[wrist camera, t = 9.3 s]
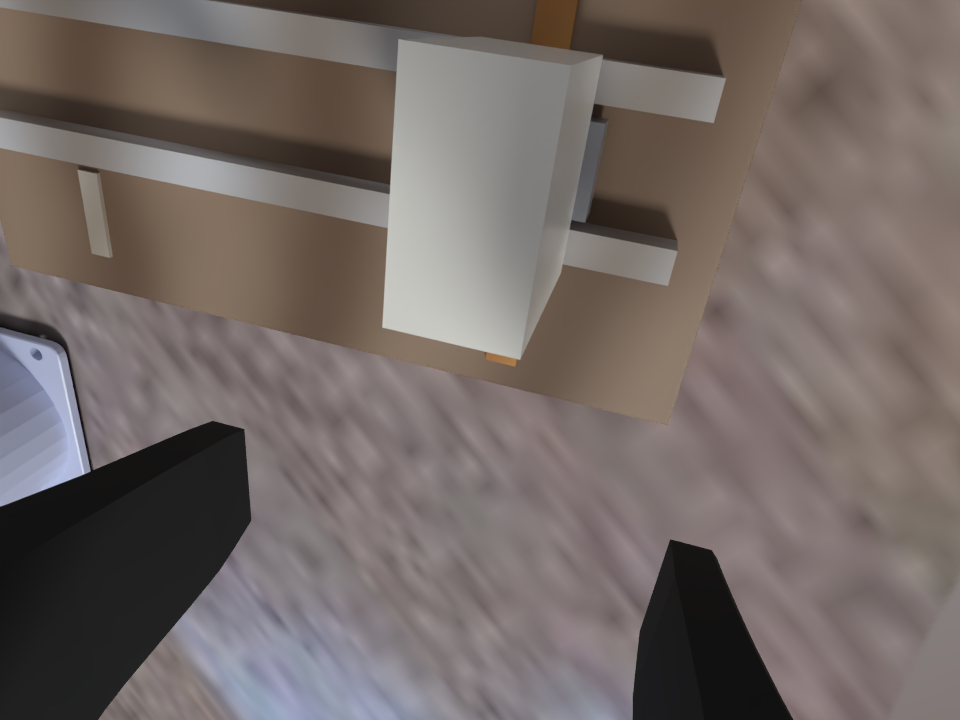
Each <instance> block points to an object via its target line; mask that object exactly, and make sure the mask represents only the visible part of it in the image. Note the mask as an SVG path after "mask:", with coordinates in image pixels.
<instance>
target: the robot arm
mask: <svg viewBox="0 0 960 720" xmlns="http://www.w3.org/2000/svg"><path fill="white" fill-rule="evenodd" d="M250 522H251V511H250V498H249V485H248V472H247V459H246V446H245V433H244V429H242V428H238V427H234V426H230V425H226V424H222V423H218V422H214V421H211V422H209V423H206V424H203V425H200V426H198V427H195V428H192V429H190V430H187V431H185V432H183V433H180V434H178V435H175V436H173V437H171V438H168V439H166V440H163V441H161V442H159V443H156V444H154V445H152V446H149V447H147V448H145V449H142V450H140V451H138V452H136V453H133V454H131V455H128V456H126V457H124V458H121V459H119V460H117V461H114V462H112V463H109V464H107V465H105V466H102V467H100V468H98V469H95V470H93V471H91V470H90V465H89V461H88V456H87V451H86V446H85V441H84V436H83V432H82V427H81V422H80V417H79V412H78V408H77V403H76V398H75V393H74V388H73V383H72V379H71V374H70V369H69V364H68V359H67V355H66V352H65V350H64V349H63V347H62V346H60V345H59V344H58V343H56V342H53V341H50V340H46V339H43V338H39V337H35V336H31V335H27V334H24V333H20V332H16V331H12V330H8V329H5V328H1V327H0V720H98V719H99V718H100V716H101V715H102V713H103V712H104V710H105V709H106V708H107V706H108V705H109V704H110V703H111V701H112V700H113V699H114V697H115V696H116V695H117V694H118V692H119V691H120V690H121V688H122V687H123V686H124V685H125V683H126V682H127V681H128V680H129V679H130V677H131V676H132V675H133V674H134V673H135V671H136V670H137V669H138V668H139V667H140V665H141V664H142V663H143V662H144V661H145V659H146V658H147V657H148V656H149V655H150V654H151V652H152V651H153V650H154V649H155V648H156V646H157V645H158V644H159V643H160V642H161V640H162V639H163V638H164V637H165V636H166V635H167V633H168V632H169V631H170V630H171V629H172V627H173V626H174V625H175V624H176V623H177V621H178V620H179V619H180V618H181V617H182V615H183V614H184V613H185V612H186V611H187V610H188V608H189V607H190V606H191V605H192V603H193V602H194V601H195V600H196V599H197V597H198V596H199V595H200V594H201V593H202V591H203V590H204V589H205V588H206V586H207V585H208V584H209V583H210V582H211V580H212V579H213V578H214V577H215V575H216V574H217V573H218V572H219V570H220V569H221V567H222V566H223V564H224V563H225V561H226V560H227V558H228V557H229V555H230V554H231V552H232V551H233V549H234V548H235V546H236V544H237V543H238V541H239V539H240V538H241V536H242V535H243V533H244V531H245V530H246V528H247V526H248V525H249V523H250ZM633 720H793V718H792V716H791V715H790V713H789V711H788V709H787V707H786V705H785V703H784V702H783V700H782V698H781V696H780V694H779V692H778V690H777V688H776V686H775V684H774V682H773V680H772V678H771V676H770V674H769V673H768V671H767V669H766V667H765V665H764V663H763V661H762V659H761V657H760V655H759V653H758V651H757V649H756V647H755V645H754V642H753V640H752V638H751V636H750V634H749V632H748V630H747V628H746V625H745V623H744V621H743V619H742V617H741V614H740V612H739V610H738V608H737V606H736V603H735V601H734V599H733V596H732V594H731V592H730V589H729V587H728V585H727V582H726V580H725V577H724V575H723V573H722V570H721V568H720V565H719V563H718V560H717V558H716V556H715V555H714V553H713V552H712V550H709V549H705V548H701V547H697V546H694V545H690V544H686V543H682V542H678V541H674V540H670V542H669V545H668V548H667V551H666V554H665V557H664V560H663V563H662V566H661V569H660V572H659V575H658V578H657V581H656V584H655V587H654V590H653V593H652V596H651V599H650V602H649V605H648V608H647V611H646V614H645V617H644V620H643V623H642V626H641V629H640V635H639V644H638V653H637V662H636V671H635V681H634V691H633Z"/></svg>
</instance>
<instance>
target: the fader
mask: <svg viewBox="0 0 960 720" xmlns="http://www.w3.org/2000/svg"><path fill="white" fill-rule="evenodd" d="M602 58H603V55H601V54H594V53H588V52H581V51H574V50H568V49H561V48H554V47H547V46H541V45H534V44H527V43H521V42H514V41H507V40H500V39H494V38H487V37H452V38H420V39H398V56H397V74H396V92H395V110H394V127H393V145H392V163H391V181H390V199H389V217H388V234H387V252H386V270H385V288H384V306H383V324H382V328H387V329H391V330H395V331H399V332H404V333H408V334H412V335H416V336H421V337H425V338H429V339H433V340H438V341H442V342H446V343H450V344H455V345H459V346H463V347H467V348H472V349H476V350H480V351H484V352H489V353H493V354H497V355H501V356H506V357H510V358H514V359H518V360H520V359H521V357H522V355H523V353H524V351H525V348H526V346H527V344H528V342H529V340H530V338H531V336H532V334H533V331H534V329H535V327H536V325H537V323H538V321H539V319H540V317H541V314H542V312H543V310H544V308H545V306H546V304H547V302H548V299H549V297H550V295H551V293H552V291H553V289H554V287H555V285H556V282H557V280H558V278H559V276H560V274H561V270H562V265H563V260H564V255H565V249H566V244H567V239H568V234H569V229H570V224H571V220H574V221H579V222H584V223H585V222H586V220H587V218H588V216H589V213H590V208H591V204H592V199H593V194H594V189H595V184H596V179H597V174H598V170H599V165H600V160H601V155H602V150H603V145H604V141H605V136H606V131H607V126H608V121H609V119H605V118H599V117H593V116H591V115H592V110H593V105H594V100H595V95H596V89H597V84H598V79H599V74H600V69H601V64H602Z"/></svg>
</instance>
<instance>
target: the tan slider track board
mask: <svg viewBox="0 0 960 720" xmlns="http://www.w3.org/2000/svg"><path fill="white" fill-rule="evenodd" d="M801 2H802V0H0V219H1V224H2V228H3V232H4V236H5V241H6V245H7V249H8V253H9V257H10V262H11V266H15V267H19V268H23V269H27V270H31V271H35V272H39V273H44V274H48V275H52V276H56V277H60V278H64V279H68V280H72V281H76V282H81V283H85V284H89V285H93V286H97V287H101V288H105V289H109V290H113V291H118V292H122V293H126V294H130V295H134V296H138V297H142V298H146V299H150V300H155V301H159V302H163V303H167V304H171V305H175V306H179V307H183V308H188V309H192V310H196V311H200V312H204V313H208V314H212V315H216V316H220V317H225V318H229V319H233V320H237V321H241V322H245V323H249V324H253V325H257V326H262V327H266V328H270V329H274V330H278V331H282V332H286V333H290V334H294V335H299V336H303V337H307V338H311V339H315V340H319V341H323V342H327V343H331V344H336V345H340V346H344V347H348V348H352V349H356V350H360V351H364V352H368V353H373V354H377V355H381V356H385V357H389V358H393V359H397V360H401V361H406V362H410V363H414V364H418V365H422V366H426V367H430V368H434V369H438V370H443V371H447V372H451V373H455V374H459V375H463V376H467V377H471V378H475V379H480V380H484V381H488V382H492V383H496V384H500V385H504V386H508V387H512V388H517V389H521V390H525V391H529V392H533V393H537V394H541V395H545V396H549V397H554V398H558V399H562V400H566V401H570V402H574V403H578V404H582V405H586V406H591V407H595V408H599V409H603V410H607V411H611V412H615V413H619V414H624V415H628V416H632V417H636V418H640V419H644V420H648V421H652V422H656V423H661V424H665V425H668V424H669V421H670V417H671V414H672V411H673V408H674V405H675V402H676V398H677V395H678V392H679V389H680V386H681V383H682V379H683V376H684V373H685V370H686V367H687V364H688V360H689V357H690V354H691V351H692V348H693V345H694V341H695V338H696V335H697V332H698V329H699V326H700V322H701V319H702V316H703V313H704V310H705V307H706V303H707V300H708V297H709V294H710V291H711V287H712V284H713V281H714V278H715V275H716V272H717V268H718V265H719V262H720V259H721V256H722V253H723V249H724V246H725V243H726V240H727V237H728V234H729V230H730V227H731V224H732V221H733V218H734V215H735V211H736V208H737V205H738V202H739V199H740V196H741V192H742V189H743V186H744V183H745V180H746V177H747V173H748V170H749V167H750V164H751V161H752V158H753V154H754V151H755V148H756V145H757V142H758V139H759V135H760V132H761V129H762V126H763V123H764V119H765V116H766V113H767V110H768V107H769V104H770V100H771V97H772V94H773V91H774V88H775V85H776V81H777V78H778V75H779V72H780V69H781V66H782V62H783V59H784V56H785V53H786V50H787V47H788V43H789V40H790V37H791V34H792V31H793V28H794V24H795V21H796V18H797V15H798V12H799V9H800V5H801ZM452 37H487V38H494V39H500V40H507V41H514V42H521V43H527V44H534V45H541V46H547V47H554V48H561V49H568V50H574V51H581V52H588V53H594V54H601V55H603V58H602V64H601V69H600V74H599V79H598V84H597V89H596V95H595V100H594V105H593V110H592V115H591V116H593V117H599V118H605V119H609V121H608V126H607V131H606V136H605V141H604V145H603V150H602V155H601V160H600V165H599V170H598V174H597V179H596V184H595V189H594V194H593V199H592V204H591V208H590V213H589V216H588V218H587V220H586V222H585V223H584V222H579V221H574V220H571V224H570V229H569V234H568V239H567V244H566V249H565V255H564V260H563V265H562V270H561V274H560V276H559V278H558V280H557V282H556V285H555V287H554V289H553V291H552V293H551V295H550V297H549V299H548V302H547V304H546V306H545V308H544V310H543V312H542V314H541V317H540V319H539V321H538V323H537V325H536V327H535V329H534V331H533V334H532V336H531V338H530V340H529V342H528V344H527V346H526V348H525V351H524V353H523V355H522V357H521V359H520V360H518V359H514V358H510V357H506V356H501V355H497V354H493V353H489V352H484V351H480V350H476V349H472V348H467V347H463V346H459V345H455V344H450V343H446V342H442V341H438V340H433V339H429V338H425V337H421V336H416V335H412V334H408V333H404V332H399V331H395V330H391V329H387V328H382V324H383V306H384V288H385V270H386V252H387V234H388V217H389V199H390V181H391V163H392V145H393V127H394V110H395V92H396V74H397V56H398V39H420V38H452Z"/></svg>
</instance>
